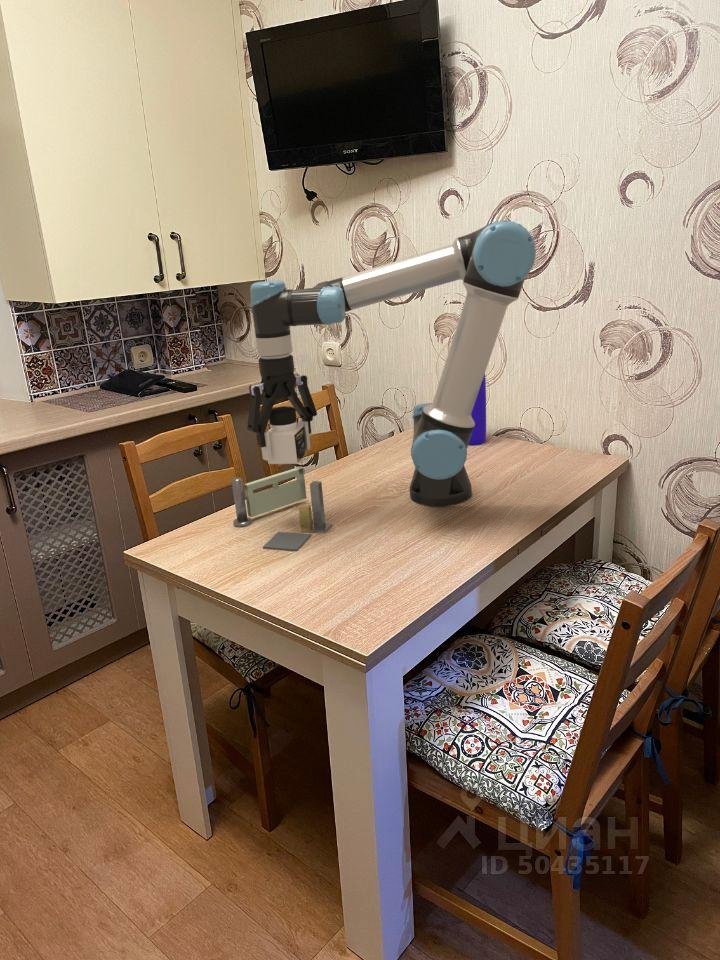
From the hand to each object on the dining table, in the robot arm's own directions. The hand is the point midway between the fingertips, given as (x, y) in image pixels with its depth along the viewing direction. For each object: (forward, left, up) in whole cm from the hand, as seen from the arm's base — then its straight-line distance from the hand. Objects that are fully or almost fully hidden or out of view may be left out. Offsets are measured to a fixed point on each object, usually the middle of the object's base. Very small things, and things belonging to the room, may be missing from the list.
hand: (287, 454), depth 160 cm
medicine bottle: (0, 0, -1) cm, 1 cm away
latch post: (-8, +4, -16) cm, 18 cm away
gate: (+6, -5, -15) cm, 17 cm away
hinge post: (+12, +4, -16) cm, 20 cm away
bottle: (-30, -65, -16) cm, 74 cm away
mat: (-3, +12, -16) cm, 20 cm away
